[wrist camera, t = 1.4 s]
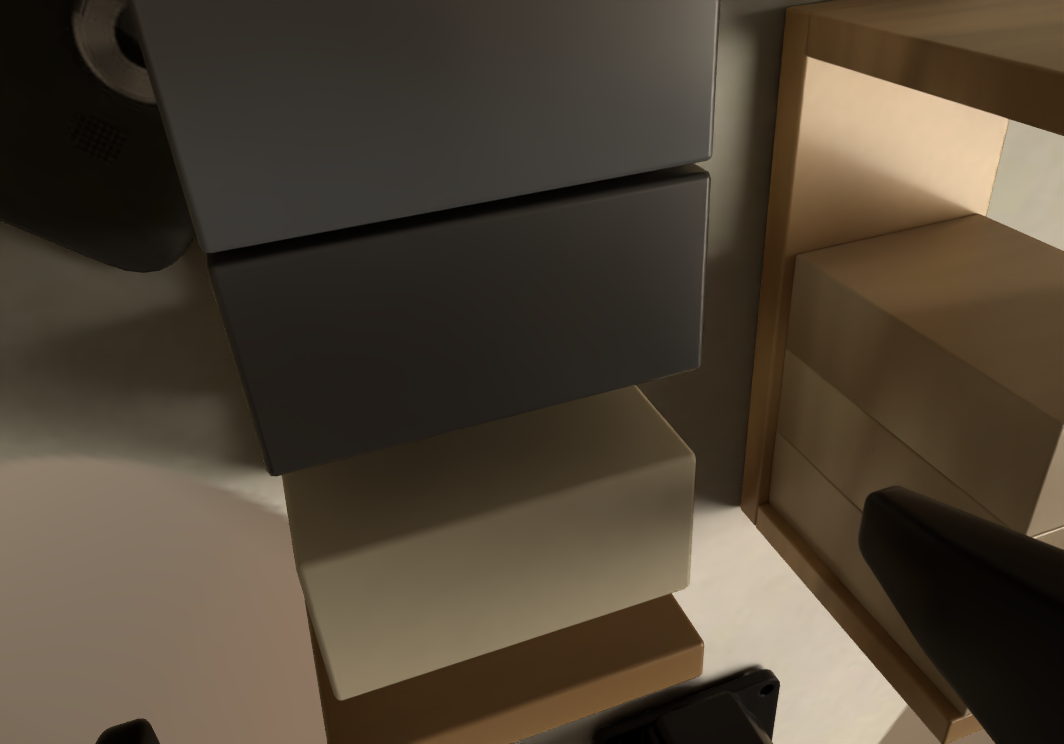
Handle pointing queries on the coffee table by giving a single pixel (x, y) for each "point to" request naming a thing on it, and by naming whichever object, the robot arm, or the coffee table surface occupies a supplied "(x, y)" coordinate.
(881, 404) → the brown rack
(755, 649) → the coffee table surface
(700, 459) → the coffee table surface
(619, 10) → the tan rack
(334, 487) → the cream book
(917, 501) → the robot arm
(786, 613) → the coffee table surface
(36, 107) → the smartphone
